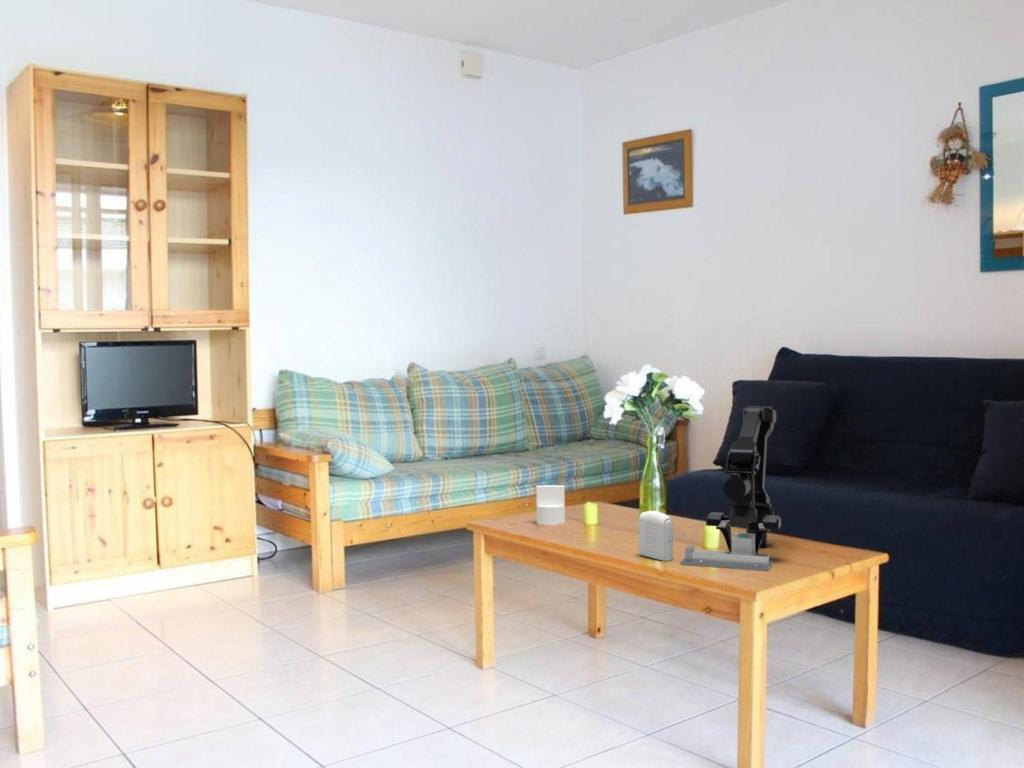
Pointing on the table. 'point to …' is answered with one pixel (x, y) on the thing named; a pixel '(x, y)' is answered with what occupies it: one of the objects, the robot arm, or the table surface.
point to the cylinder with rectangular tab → (550, 504)
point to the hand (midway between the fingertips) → (743, 553)
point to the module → (743, 543)
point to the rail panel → (729, 565)
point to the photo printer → (656, 535)
